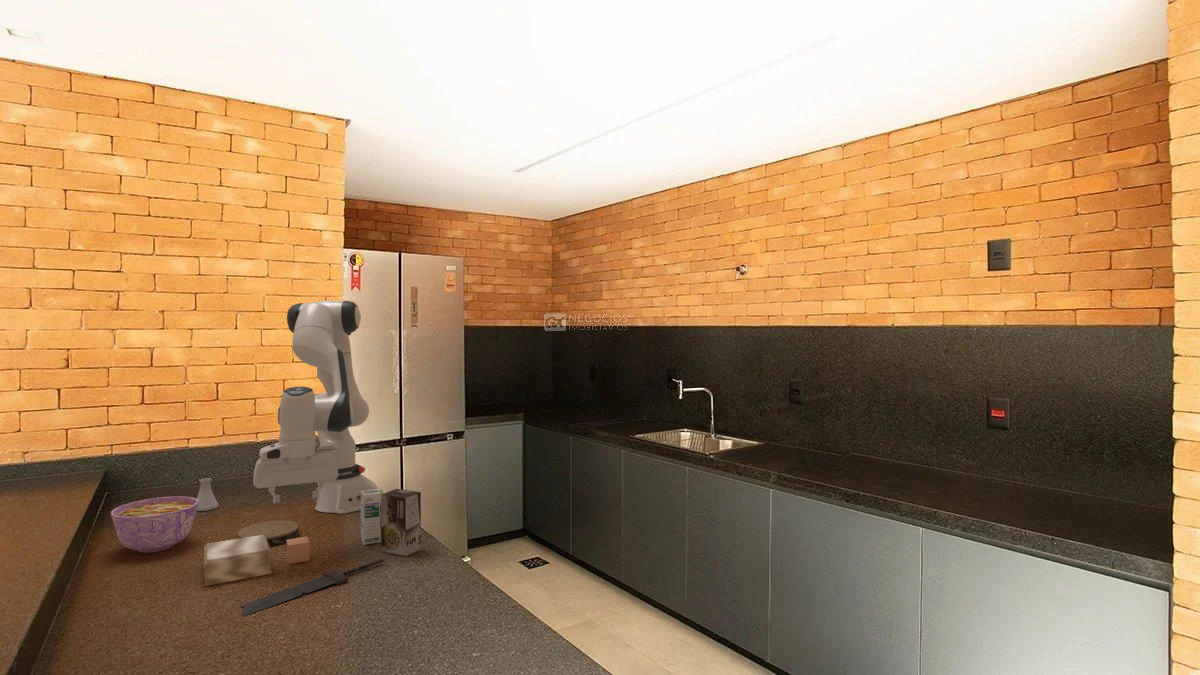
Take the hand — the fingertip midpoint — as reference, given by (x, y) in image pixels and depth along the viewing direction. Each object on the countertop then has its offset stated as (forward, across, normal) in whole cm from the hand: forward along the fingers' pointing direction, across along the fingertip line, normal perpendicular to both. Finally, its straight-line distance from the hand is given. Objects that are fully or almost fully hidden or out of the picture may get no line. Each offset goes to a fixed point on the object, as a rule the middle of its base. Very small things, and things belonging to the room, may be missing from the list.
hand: (296, 500), depth 164 cm
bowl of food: (+16, +32, -30) cm, 47 cm away
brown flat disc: (+16, +4, -22) cm, 28 cm away
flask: (+16, +20, -65) cm, 70 cm away
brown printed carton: (+16, -26, +8) cm, 31 cm away
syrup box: (+16, -21, -4) cm, 26 cm away
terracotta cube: (+16, -1, 0) cm, 16 cm away
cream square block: (+16, +13, 0) cm, 21 cm away
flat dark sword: (+16, -2, +21) cm, 27 cm away
